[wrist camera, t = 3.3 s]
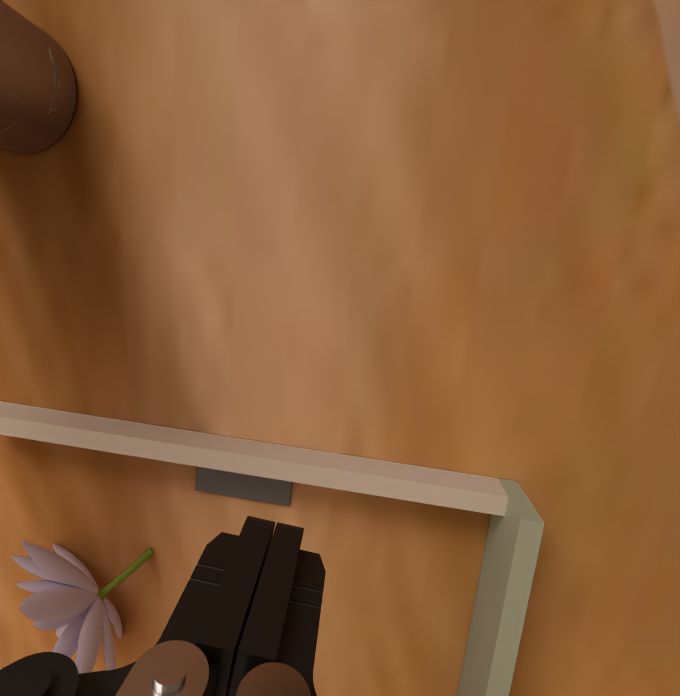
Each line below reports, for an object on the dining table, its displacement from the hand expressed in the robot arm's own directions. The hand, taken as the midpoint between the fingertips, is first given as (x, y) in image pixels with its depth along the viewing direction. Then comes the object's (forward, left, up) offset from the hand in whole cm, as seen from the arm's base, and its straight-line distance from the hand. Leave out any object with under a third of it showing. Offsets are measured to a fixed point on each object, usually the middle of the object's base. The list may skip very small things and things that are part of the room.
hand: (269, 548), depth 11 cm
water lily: (-19, -21, -24) cm, 37 cm away
